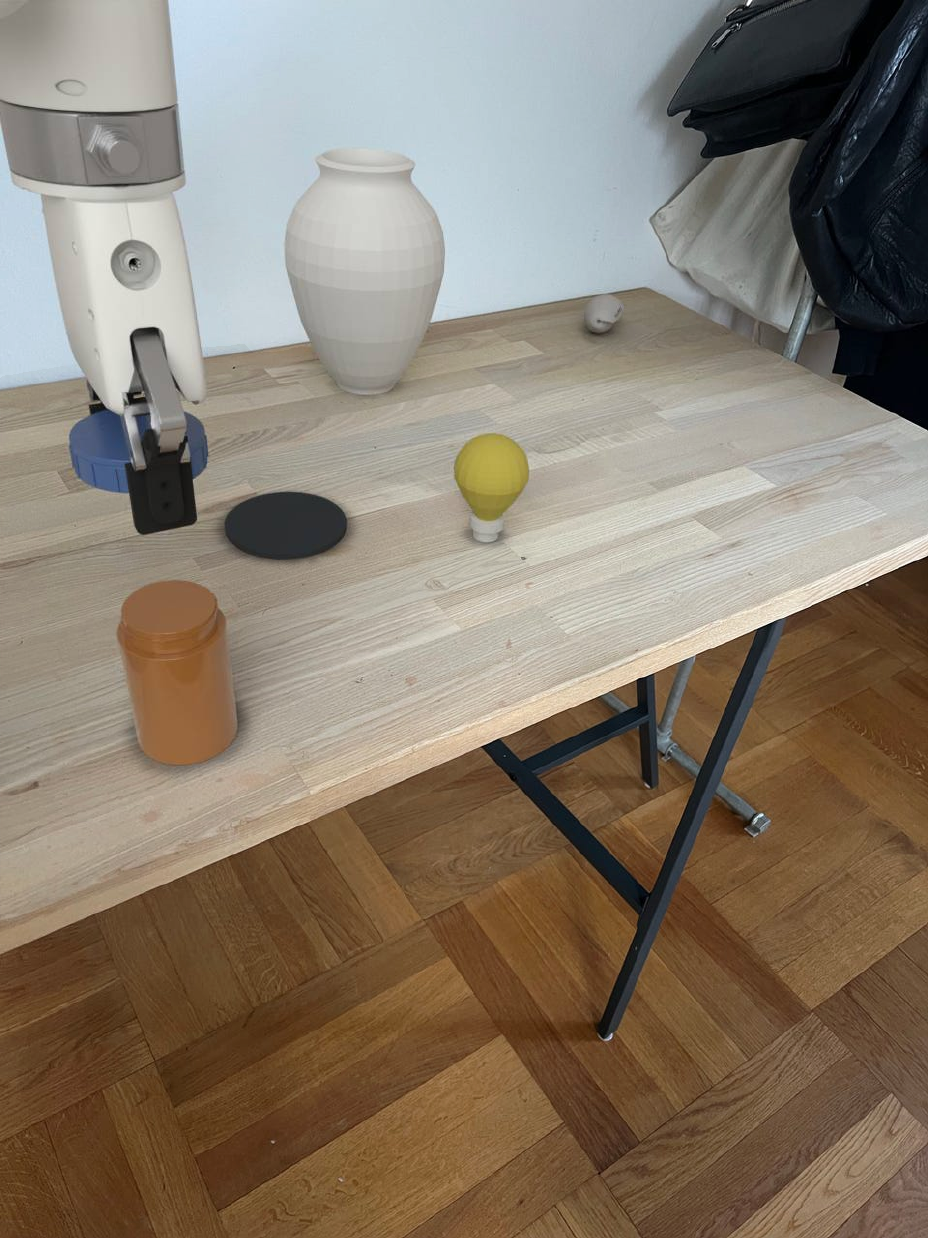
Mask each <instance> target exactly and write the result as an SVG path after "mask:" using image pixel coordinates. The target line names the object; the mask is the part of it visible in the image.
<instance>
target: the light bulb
mask: <svg viewBox="0 0 928 1238" xmlns="http://www.w3.org/2000/svg"><path fill="white" fill-rule="evenodd" d="M453 467H454V468H453V474H454V477H453V478H454V480H455V482H456V484H457V487H458V489H459V491H460V493H461V495H462V497H463V499H464V501H465V502H466V503H467V506H469V508H470V509H471V511H470V514H469V519H468V520H469V521H468V523H469V527H470V529H471V530H472V536H473V539H475V540H476V541H479V542H482V543H492V542H493V543H494V542H495V541H497V540H498V538H499V533H500V532H501V531H503V530H504V527H505V520H506V517H505V514H504V513H505V512H506V511H507V510H508V509H509V508H511V506H512V505H513V504H514V503H515V502H516V501H517V499H518V498H519V496H520V495H521V494H522V492H523V491H524V489H525V488H526V486H527V484H528V482H529V478H530V467H529V461H528V458H527V455H526V453H525V451H524V449H523V448H522V447H521V446H520V445H519V444H518V442H516V441H515V440H514V439H512V438H511V437H509V436H507V435H504V434H501V433H495V432H490V433H489V432H487V433H484V434H479V435H476V436H475V437H473V438H471V439H470V440H468V441H467V442H466V443H465V444H464V445H463V446H462V447H461V449H460V450H459V452H458V454H457V455H456V458H455V460H454V466H453Z"/></svg>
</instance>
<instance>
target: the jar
mask: <svg viewBox="0 0 928 1238" xmlns="http://www.w3.org/2000/svg"><path fill="white" fill-rule="evenodd" d="M116 640H117V644H118V649H119V654H120V660H121V665H122V670H123V673H124V680H125V684H126V690H127V694H128V699H129V703H130V709H131V713H132V718H133V723H134V729H135V733H136V738H137V742H138V746H139V747H140V749H141V751H142V752H143V753H144V754H145V755H146V756H147V757H148V758H150V759H151V760H153V761H156V762H157V763H162V764H165V765H170V766H190V765H194V764H199V763H202V762H206V761H209V760H210V759H213V758H215V757H217V756H218V755H220V754H221V753H222V752H224V751H225V750H227V748H228V747H229V746H230V745H231V744H232V743H233V741H234V740H235V738H236V736H237V733H238V727H239V726H238V725H239V724H238V715H237V706H236V697H235V688H234V681H233V679H234V678H233V671H232V661H231V652H230V644H229V635H228V625H227V619H226V616H225V613H224V612H223V611H222V610H221V608H219V604H218V598H217V596H216V595H215V593H214V592H212V591H211V590H210V589H208V588H207V587H205V586H204V585H202V584H200V583H197V582H193V581H189V580H180V579H172V580H161V581H157V582H153V583H150V584H147V585H144V586H142V587H140V588H138V589H136V590H135V591H134V592H131V593H130V594H129V595H128V596H127V598H126V599H124V601H123V603H122V605H121V609H120V621H119V623H118V626H117V627H116Z"/></svg>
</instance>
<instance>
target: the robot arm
mask: <svg viewBox="0 0 928 1238" xmlns="http://www.w3.org/2000/svg"><path fill="white" fill-rule="evenodd" d="M177 89H178V88H177V77H176V69H175V57H174V46H173V35H172V25H171V15H170V5H169V0H0V127H1V133H2V139H3V144H4V148H5V149H4V150H5V154H6V158H7V159H6V160H7V164H8V167H9V172H10V178H11V182H12V183H13V185H14V186H16V187H17V188H19V189H21V190H26V191H27V192H30V193H34V194H37V195H40V200H41V205H42V207H41V211H42V214H43V218H44V219H43V220H44V225H45V231H46V237H47V243H48V249H49V255H50V260H51V265H52V272H53V276H54V282H55V287H56V292H57V297H58V302H59V307H60V311H61V316H62V320H63V325H64V330H65V333H66V337H67V340H68V344H69V347H70V350H71V353H72V356H73V358H74V360H75V362H76V363H77V365H78V367H79V368H80V370H81V372H82V374H83V375H84V376H85V379H86V381H85V382H86V389H87V392H88V396H89V397H88V398H89V399H90V401H91V402H92V403H90V404H88V411H89V416H90V415H92V414H94V413H97V412H100V411H104V410H108V409H109V410H111V411H112V412H114V413H116V414H118V415H120V419H121V423H122V427H123V431H124V436H125V440H126V444H127V448H128V452H129V456H130V460H131V463H125V470H126V477H127V483H128V489H129V493H128V495H129V501H130V507H131V514H132V521H133V526H134V528H135V531H136V532H137V533H138V534H139V535H141V536H146V535H147V536H148V535H151V534H155V533H160V532H167V531H171V530H175V529H179V528H180V529H181V528H184V527H190V526H193V525H195V524H196V522H197V521H198V513H197V503H196V495H195V486H194V479H193V476H192V467H191V458H190V450H189V446H188V436H186V429H187V422H186V417H185V414H184V411H185V410H184V408H183V405H182V402H181V399H180V396H179V393H180V395H181V396H182V397H183V399H184V400H185V401H186V402H187V403H192V404H193V405H194V406H195V405H201V404H202V403H203V402H205V400H206V398H207V397H208V396H207V395H208V387H207V377H206V371H205V364H204V363H205V362H204V356H203V350H202V349H203V347H202V342H201V336H200V335H201V334H200V326H199V319H198V312H197V306H196V300H195V293H194V287H193V286H194V285H193V279H192V272H191V268H190V267H191V266H190V262H189V256H188V251H187V245H186V241H185V235H184V231H183V226H182V221H181V218H180V212H179V209H178V206H177V202H176V198H175V197H176V196H175V195H174V193H173V192H176V191H178V190H181V189H183V188H184V186H186V183H187V181H186V180H187V179H186V170H185V162H184V161H185V159H184V149H183V138H182V129H181V118H180V109H179V103H178V102H179V99H178V98H179V97H178V90H177ZM178 392H179V393H178ZM143 394H144V396H142V395H143ZM139 396H140V397H139ZM148 415H151V423H150V424H151V427H152V429H147V430H145V432H144V435H143V437H142V442H141V438H140V434H139V430H138V426H137V422H136V418H135V417H141V416H148Z"/></svg>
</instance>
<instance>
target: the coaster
mask: <svg viewBox="0 0 928 1238" xmlns="http://www.w3.org/2000/svg"><path fill="white" fill-rule="evenodd" d="M226 515H227V516H226V517H225V520H224V532H225V536H226V537H227V540H228V541H229V542H230V543H231V544H232V545H233V546H234V547H235V548H236V549H239V550H240V551H243V553H246V554H249V555H251V556H255V557H258V558H264V559H271V560H296V559H297V560H298V559H304V558H307V557H308V558H309V557H312V556H315V555H318V554H322V553H324V552H326V551H328V550H330V549H332V548H333V547H335V546H336V545H338V543H340V542H341V541H342V540H343V538H344V537H345V534H346V532H347V529H348V526H347V525H348V520H347V515H346V514H345V512H344V511H343V508H341V507H340V506H339V505H338V504H337V503H335V502H334V501H332V500H330V499H328V498H325V497H323V496H320V495H317V494H313V493H308V492H301V491H277V492H269V493H263V494H260V495H256V496H253V497H250V498H247V499H246V500H244V501H242V502H240V503H238V504H236V505H235V506H234V507H233V508H232V509H231V510H230V511H229V512H228V514H226Z"/></svg>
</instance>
